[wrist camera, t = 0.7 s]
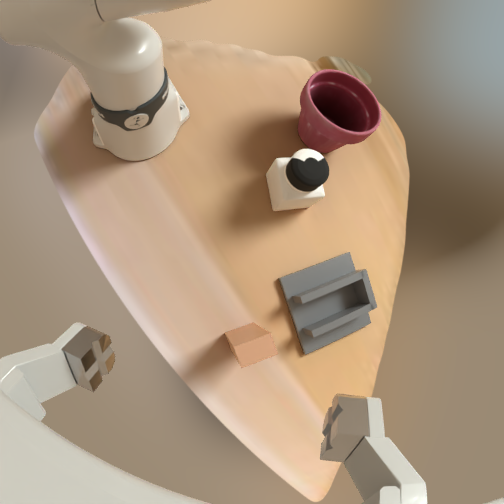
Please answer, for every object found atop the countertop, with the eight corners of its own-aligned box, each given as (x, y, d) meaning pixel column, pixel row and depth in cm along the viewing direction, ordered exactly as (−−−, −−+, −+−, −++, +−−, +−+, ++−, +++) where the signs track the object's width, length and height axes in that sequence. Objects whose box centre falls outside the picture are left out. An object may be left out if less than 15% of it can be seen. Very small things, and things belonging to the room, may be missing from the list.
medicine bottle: (309, 207, 53) (339, 187, 41) (272, 211, 51) (293, 190, 40) (302, 171, 53) (328, 142, 42) (265, 173, 52) (283, 143, 40)
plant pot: (332, 101, 57) (358, 67, 45) (360, 156, 56) (395, 129, 44) (273, 110, 54) (292, 71, 42) (302, 172, 53) (330, 141, 41)
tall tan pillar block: (224, 332, 48) (233, 346, 36) (253, 322, 49) (270, 333, 37) (230, 349, 47) (241, 368, 36) (259, 338, 48) (278, 354, 37)
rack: (278, 278, 50) (287, 277, 45) (346, 252, 53) (360, 249, 48) (303, 353, 49) (314, 359, 45) (368, 322, 52) (382, 324, 48)
